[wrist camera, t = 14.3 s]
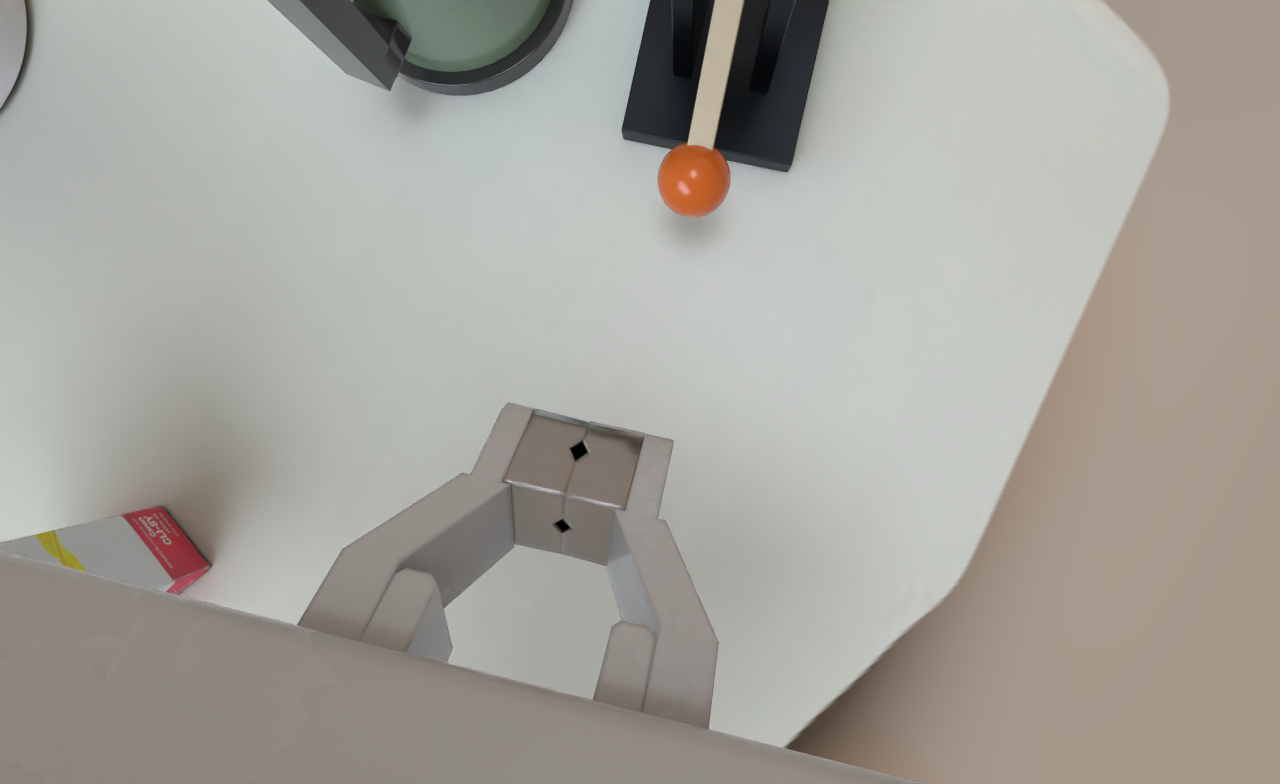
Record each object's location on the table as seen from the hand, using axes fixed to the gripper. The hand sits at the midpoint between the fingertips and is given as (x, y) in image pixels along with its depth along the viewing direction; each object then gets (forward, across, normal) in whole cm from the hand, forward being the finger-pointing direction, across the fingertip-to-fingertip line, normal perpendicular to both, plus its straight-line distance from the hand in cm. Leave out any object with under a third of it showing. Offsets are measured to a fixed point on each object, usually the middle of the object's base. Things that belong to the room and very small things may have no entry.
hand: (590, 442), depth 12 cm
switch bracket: (+30, 0, +3) cm, 30 cm away
